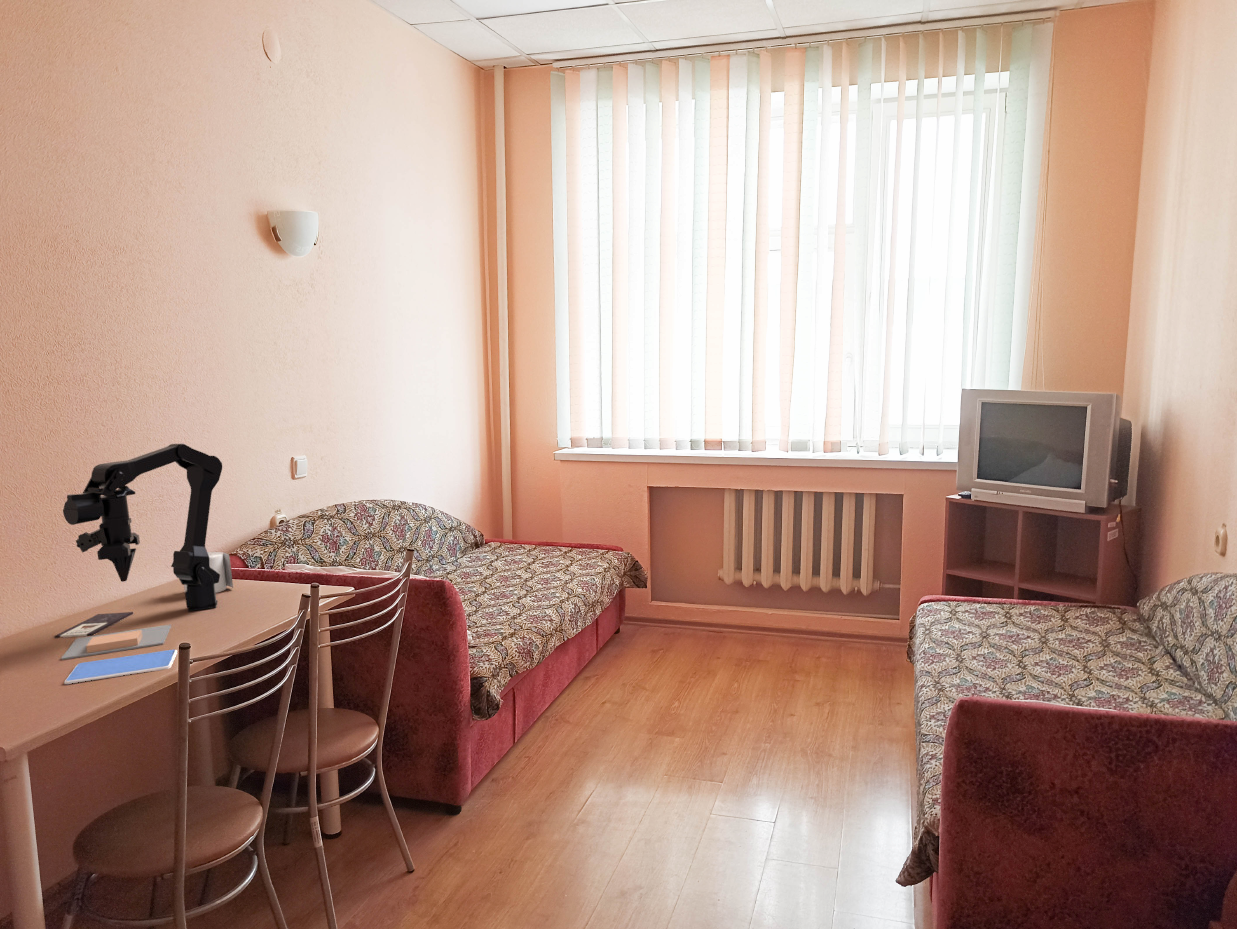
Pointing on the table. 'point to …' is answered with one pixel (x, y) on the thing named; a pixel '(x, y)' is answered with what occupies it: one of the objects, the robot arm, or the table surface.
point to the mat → (149, 638)
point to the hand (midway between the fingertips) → (124, 581)
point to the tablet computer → (121, 666)
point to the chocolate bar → (93, 625)
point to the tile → (114, 641)
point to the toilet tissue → (220, 570)
